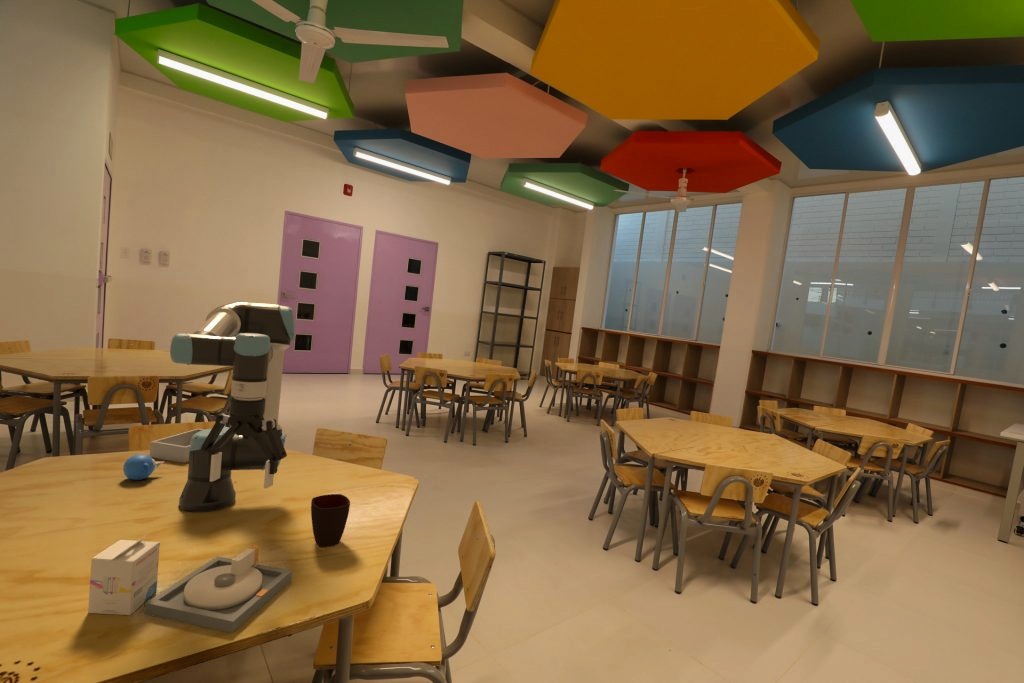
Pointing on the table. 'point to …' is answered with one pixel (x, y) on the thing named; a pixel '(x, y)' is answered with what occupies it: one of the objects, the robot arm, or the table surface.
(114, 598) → the ink box
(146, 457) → the blue mole toy
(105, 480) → the table surface
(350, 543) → the table surface
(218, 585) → the dial
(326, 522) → the cup
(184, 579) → the dial plate
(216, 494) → the robot arm
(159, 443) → the tray
